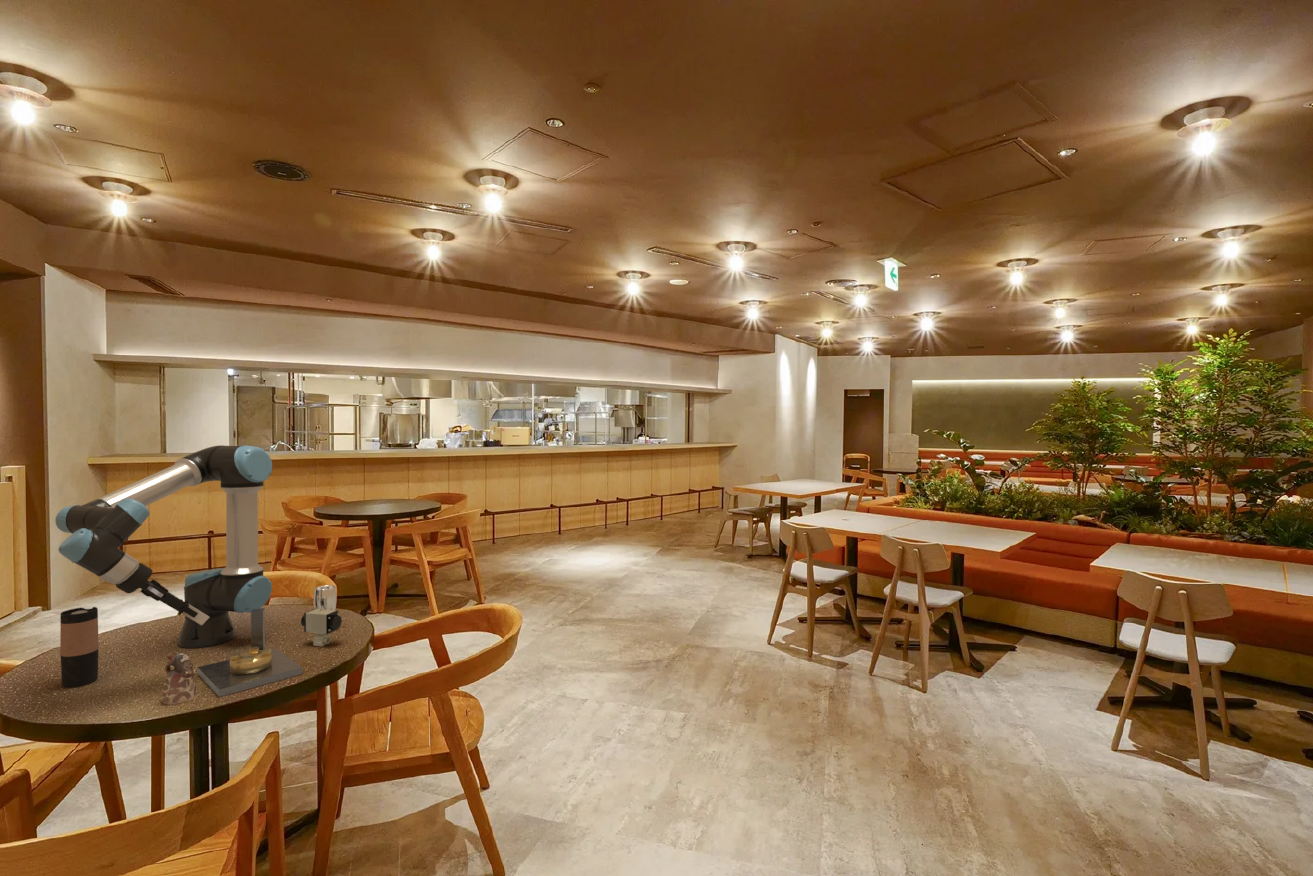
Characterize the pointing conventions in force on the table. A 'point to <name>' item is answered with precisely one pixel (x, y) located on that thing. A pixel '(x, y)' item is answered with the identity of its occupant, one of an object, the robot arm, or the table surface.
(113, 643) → the table surface
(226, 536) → the robot arm
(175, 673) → the figurine
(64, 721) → the table surface
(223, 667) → the base plate
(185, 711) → the table surface
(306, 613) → the pneumatic valve
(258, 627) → the metal fixture
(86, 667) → the travel mug
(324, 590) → the beer glass
